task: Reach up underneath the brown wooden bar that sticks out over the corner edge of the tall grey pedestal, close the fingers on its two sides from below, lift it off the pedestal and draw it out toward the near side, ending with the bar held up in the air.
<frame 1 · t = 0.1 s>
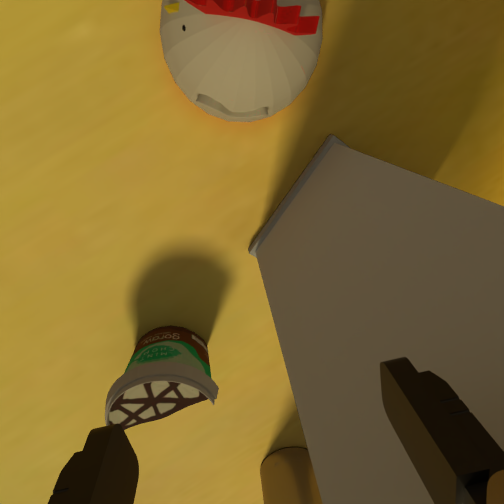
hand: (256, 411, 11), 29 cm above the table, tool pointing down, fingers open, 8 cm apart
pedestal: (335, 227, 41), on the table
food container: (162, 339, 45), on the table
white chicken figure: (240, 40, 33), on the table
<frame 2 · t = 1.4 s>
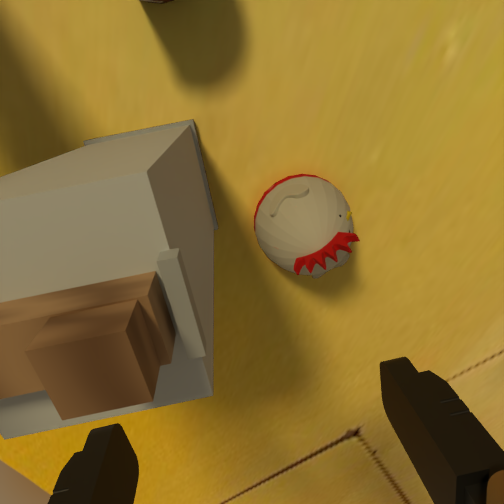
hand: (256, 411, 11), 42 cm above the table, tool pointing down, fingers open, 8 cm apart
pedestal: (156, 186, 50), on the table
white chicken figure: (299, 220, 54), on the table
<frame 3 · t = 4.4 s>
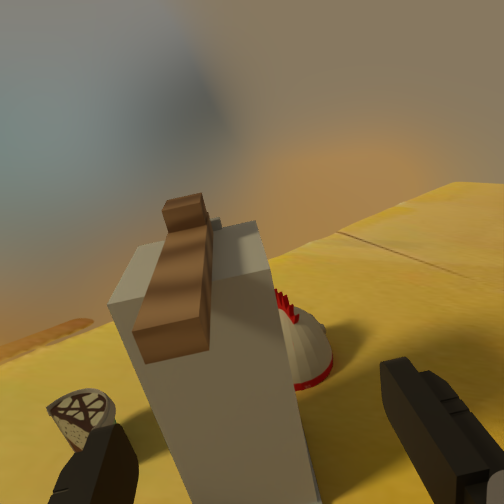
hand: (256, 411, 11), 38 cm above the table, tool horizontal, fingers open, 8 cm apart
pedestal: (256, 469, 49), on the table
brown wooden bar: (189, 278, 32), point 33 cm above the table, touching pedestal
food container: (109, 448, 58), on the table
white chicken figure: (295, 363, 67), on the table
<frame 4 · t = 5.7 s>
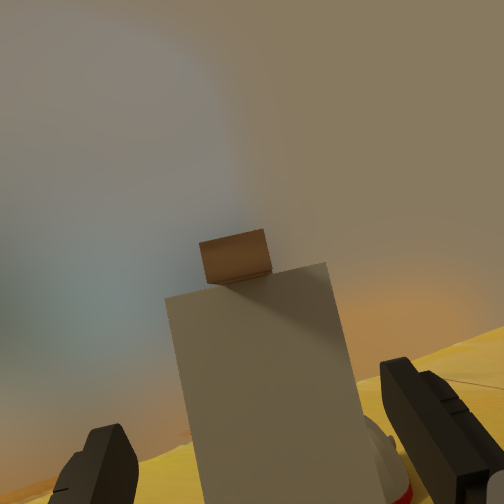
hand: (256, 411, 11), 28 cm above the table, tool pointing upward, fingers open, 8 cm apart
brown wooden bar: (245, 280, 32), point 33 cm above the table, touching pedestal
white chicken figure: (362, 494, 53), on the table
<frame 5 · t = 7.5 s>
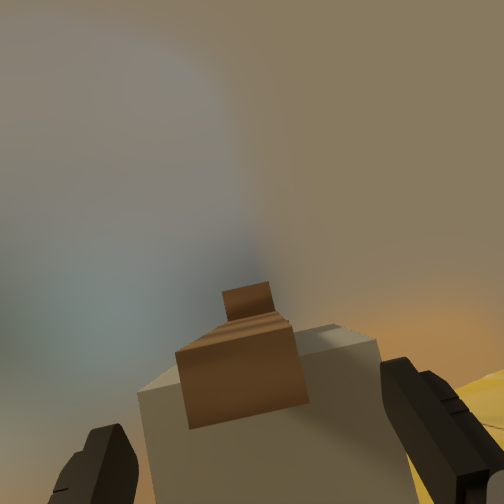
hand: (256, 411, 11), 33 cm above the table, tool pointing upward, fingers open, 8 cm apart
brown wooden bar: (256, 361, 22), point 33 cm above the table, touching pedestal
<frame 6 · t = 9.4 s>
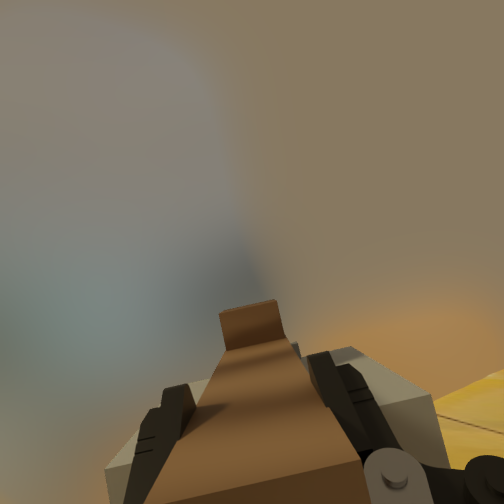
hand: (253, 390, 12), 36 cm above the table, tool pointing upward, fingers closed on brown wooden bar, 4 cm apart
brown wooden bar: (266, 418, 17), point 33 cm above the table, touching gripper, pedestal
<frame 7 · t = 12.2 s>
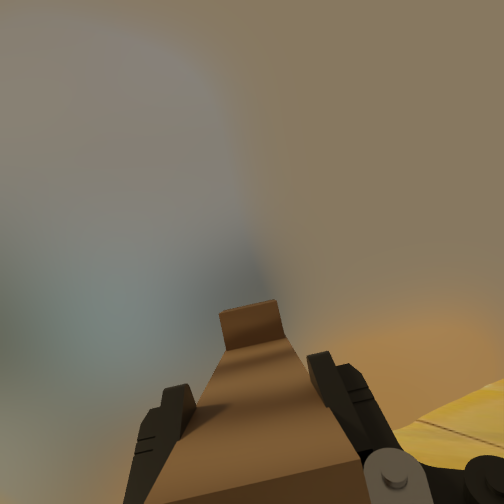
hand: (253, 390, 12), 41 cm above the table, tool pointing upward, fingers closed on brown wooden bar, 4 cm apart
brown wooden bar: (267, 418, 17), point 38 cm above the table, touching gripper
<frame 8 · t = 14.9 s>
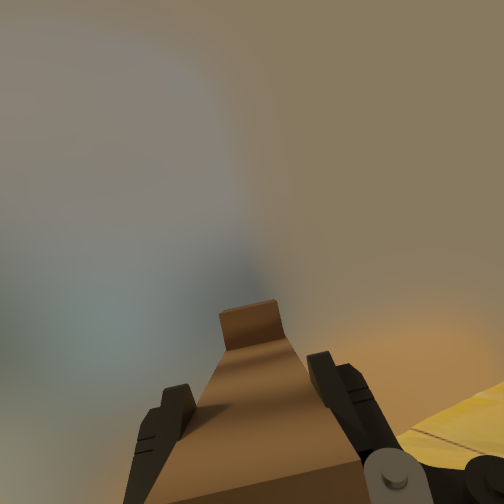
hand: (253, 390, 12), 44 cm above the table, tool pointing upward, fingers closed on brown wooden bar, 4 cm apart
brown wooden bar: (267, 418, 17), point 42 cm above the table, touching gripper
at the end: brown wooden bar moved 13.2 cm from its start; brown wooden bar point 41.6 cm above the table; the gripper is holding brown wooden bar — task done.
